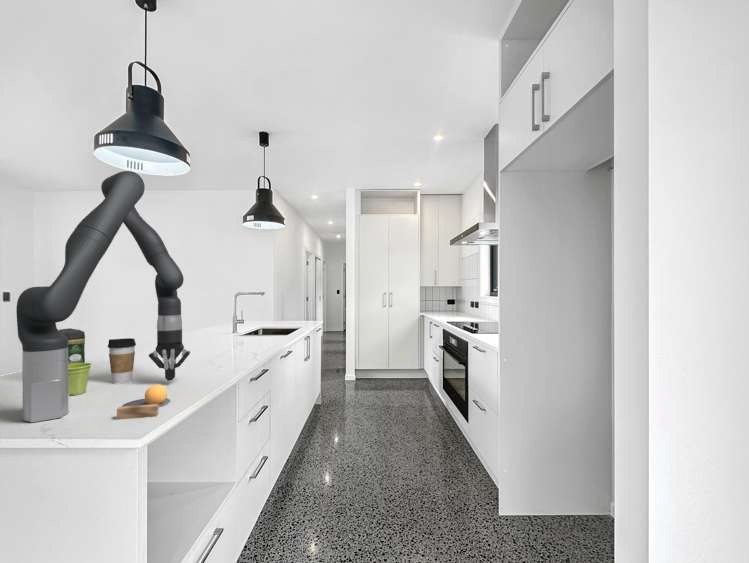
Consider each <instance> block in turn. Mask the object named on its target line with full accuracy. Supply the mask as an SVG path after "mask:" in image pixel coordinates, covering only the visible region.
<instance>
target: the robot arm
mask: <svg viewBox="0 0 749 563" xmlns="http://www.w3.org/2000/svg"><path fill="white" fill-rule="evenodd" d="M100 188H101V192H102V195H103V197H104V199H103V201H102V202H100V203H99V205H97V206H96V207H95V208H93V209H92V210H91V211H90V212H89V213H88V214H87V215H85V217H84V218H83V219H82V220H81V221H80V222H79V223H78V224H77V225H76V227H75V228H74V230H73V231H72V232H71V234H70V235H69V237H68V238H67V241H66V242H65V247H64V248H65V250H64V266H63V267H62V270H61V271H60V273H59V274H58V276H57V277H56V278H55V280H54V281H53V282H52V283H51V284H50V286H32V287H28V288H26V289H25V290H24V291H22V292H21V293H20V294H19V296H18V298H17V301H16V313H15V314H16V327H17V336H18V337H17V338H18V340H19V342H20V343H21V349H22V355H21V356H22V357H21V358H22V361H21V362H22V366H21V367H22V368H21V369H22V373H21V374H22V376H21V377H22V382H21V383H22V420H23V421H24V422H30V423H36V422H37V423H38V422H43V421H47V420H54V419H59V418H60V419H61V418H63V416H66V415H68V414H69V410H70V409H69V396H68V338H67V337H66V336H65V335H63V334H62V333H60V332H59V329H58V328H57V323H61V322H64V321H65V320H67V319H68V318H69V317H71V315H73V314H74V312H75V310H76V309H77V306H78V304H79V302H80V300H81V298H82V295H83V293H84V291H85V289H86V286H87V285H88V282H89V280H90V278H91V277H92V275H93V273H94V272H95V270H96V268H97V267H98V264H99V263H100V261H101V259H102V258H103V257H104V256H105V254H106V253H107V251H108V249H109V248H110V246H111V244H112V243H113V240H114V238H115V237H116V235H117V233H118V232H119V230H120V228H121V227H122V225H123V224H124V225H125V227H126V229H128V231H129V232H130V234H131V235H132V237H133V238H134V241H135V242H136V243H137V246H138V248H139V249H140V251H141V254H142V255H143V257H144V259H145V260H146V262H147V263H148V264H149V266H151V267H152V268H154V270H155V272H156V275H155V279H154V286H155V287H154V288H155V294H156V298H157V320H156V331H157V332H156V339H157V342H156V347H155V349H154V351H152V352H150V353H149V354H148V357H149V358H150V359H151V360H152V362H153V363H154V364H155V365H156V366H157V367H158V369H164V379H165V380H166V381H167V382H168V381H169V382H170V381H174V379H175V378H176V369H177V368H180V366H181V365H182V364H183V363H184V362H185V360H186V359H187V358H188V357H189V356H190V354H191V351H190V350H187V349H185V347H184V346H185V345H184V344H183V319H182V301H181V299H180V298H179V297H178V289H180V288H181V287H182V286H183V285H184V282H185V280H184V275H183V272H182V271H181V268H180V267H179V266H178V265H177V263H176V261H175V260H174V259H173V257H171V255H170V254H169V251H168V249H167V246H166V245H165V243H164V240H162V238H161V236H160V235H159V234H158V232H157V231H156V230H155V229H154V228H153V227H152V226H151V225H150V224H149V223H148V222H147V221H145V219H144V218H143V217H142V216H141V215H140V212H138V211H137V208H136V204H137V203H138V202H139V201H140V200H141V199H142V197H143V195H144V193H145V183H144V179H143V178H142V176H140V175H139V174H138V173H136V172H135V171H131V170H124V171H120V172H117V173H115V174H113V175H110V176H108V177H106V178H105V179H103V181H102V183H101V186H100ZM180 354H181V358H180V359H179V360H178V361H177V358H178V357H179V356H180ZM159 356H160V358H161V359H162V360H161V359H160V358H159Z"/></svg>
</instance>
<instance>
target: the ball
mask: <svg viewBox="0 0 749 563" xmlns="http://www.w3.org/2000/svg"><path fill="white" fill-rule="evenodd" d="M167 396H168V389H167V388H166V386H164V385H162V384H153V385H150V386H149V387H148V388H147V389H146V391H145V393H144V399H145V400H146V401H147V403H149V404H161V403H163V402H164V401H165V399H166V398H168V397H167Z"/></svg>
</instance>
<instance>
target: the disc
mask: <svg viewBox="0 0 749 563" xmlns="http://www.w3.org/2000/svg"><path fill="white" fill-rule="evenodd" d="M169 402H170V403H171V399H170V398H168V397H167V398H166V399H165V401H164V402H163V403H161V404H159V408H161V407H164V405H165V406H166V404H167V405H169V404H170V403H169ZM168 403H169V404H168ZM136 405H150V404H149V403H147V401H146V400H145V398H141V399H135V400H130V401H128V402H125V403H123V405H121V407H123V406H136Z"/></svg>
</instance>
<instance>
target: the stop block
mask: <svg viewBox="0 0 749 563" xmlns="http://www.w3.org/2000/svg"><path fill="white" fill-rule="evenodd" d="M159 409H160V407H159V404H150V405H136V406H123V407H122V406H119V407H117V408H116V420H126V419H128V420H129V419H139V418H153V417H157V416H159Z"/></svg>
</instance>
